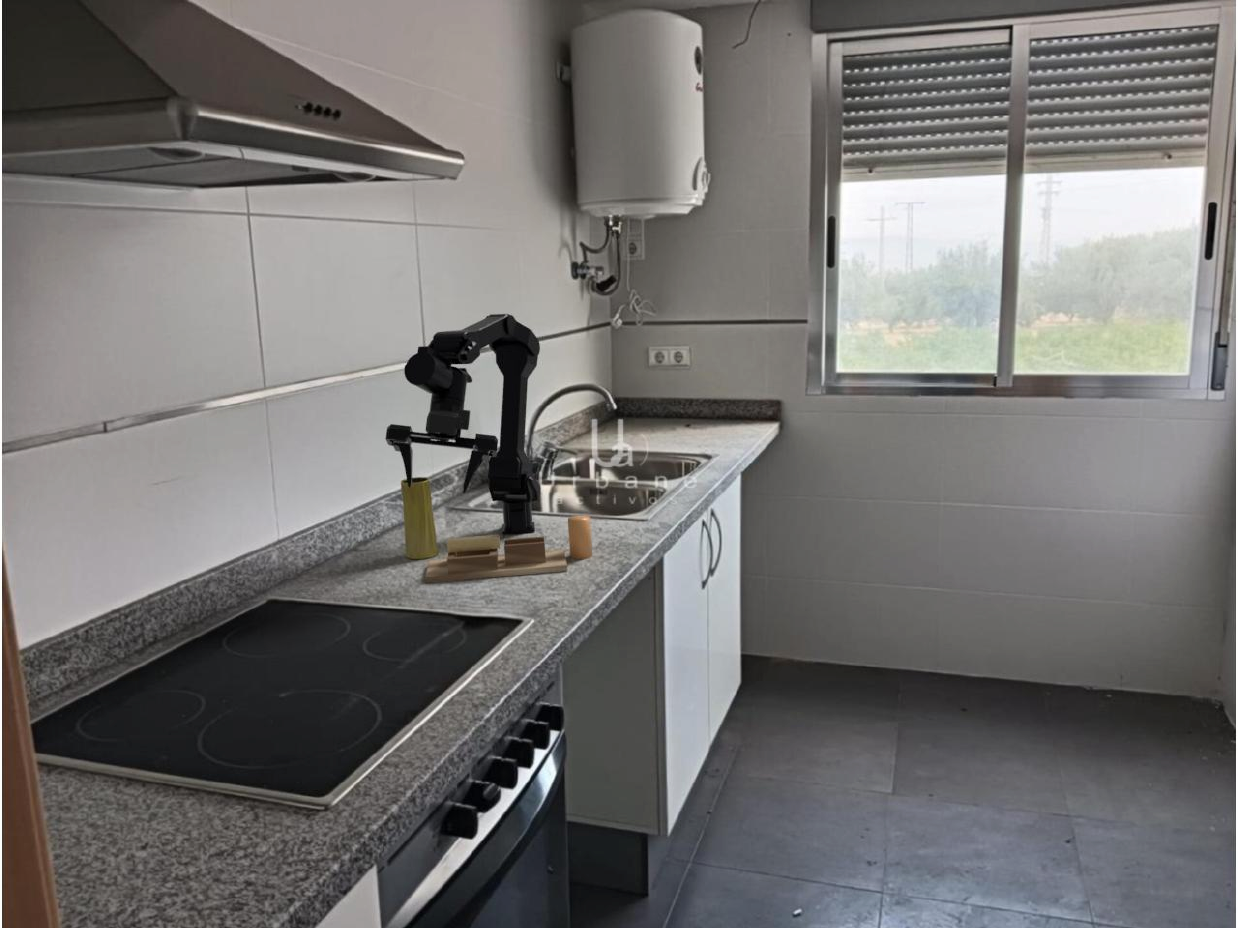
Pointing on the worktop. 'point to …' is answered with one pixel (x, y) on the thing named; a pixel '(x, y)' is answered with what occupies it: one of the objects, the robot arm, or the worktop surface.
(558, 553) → the dock board
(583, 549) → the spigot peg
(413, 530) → the vase
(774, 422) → the worktop surface
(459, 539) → the bar
